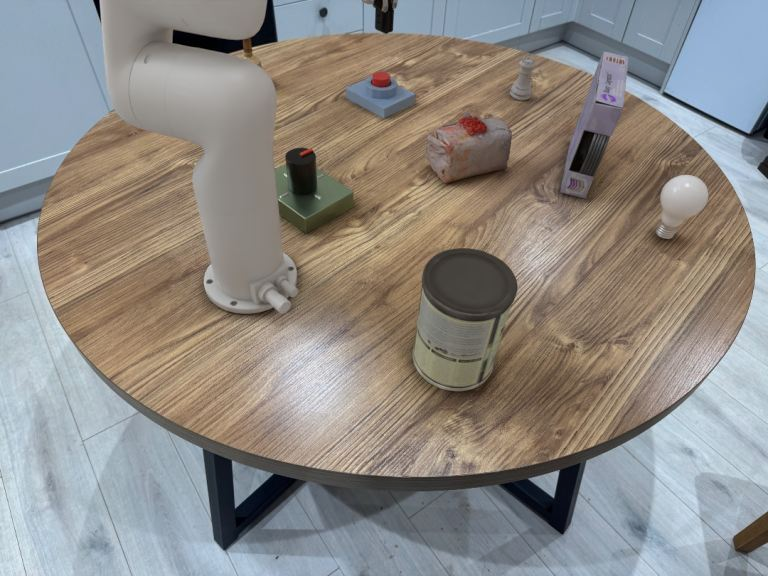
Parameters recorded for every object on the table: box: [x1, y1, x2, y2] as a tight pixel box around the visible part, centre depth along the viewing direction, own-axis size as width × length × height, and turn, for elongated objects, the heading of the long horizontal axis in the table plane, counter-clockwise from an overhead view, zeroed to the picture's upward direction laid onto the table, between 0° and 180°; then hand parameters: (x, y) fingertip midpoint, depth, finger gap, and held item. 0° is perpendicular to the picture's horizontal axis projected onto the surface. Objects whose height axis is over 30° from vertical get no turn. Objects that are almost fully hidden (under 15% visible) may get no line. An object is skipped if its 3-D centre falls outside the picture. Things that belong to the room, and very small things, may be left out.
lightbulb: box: [655, 174, 709, 240], centre depth 86 cm, size 6×6×11 cm
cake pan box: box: [560, 51, 630, 200], centre depth 96 cm, size 19×5×18 cm, turn 161°
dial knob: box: [284, 147, 317, 194], centre depth 88 cm, size 5×5×6 cm
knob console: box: [274, 163, 355, 235], centre depth 91 cm, size 13×10×3 cm
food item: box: [425, 111, 513, 184], centre depth 97 cm, size 14×8×10 cm, turn 114°
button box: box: [345, 75, 417, 119], centre depth 115 cm, size 11×9×4 cm
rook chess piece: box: [509, 56, 536, 102], centre depth 118 cm, size 4×4×8 cm
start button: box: [371, 71, 391, 88], centre depth 113 cm, size 4×4×2 cm
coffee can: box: [412, 247, 518, 392], centre depth 66 cm, size 10×10×14 cm
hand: (383, 30), depth 106 cm, fingers closed
